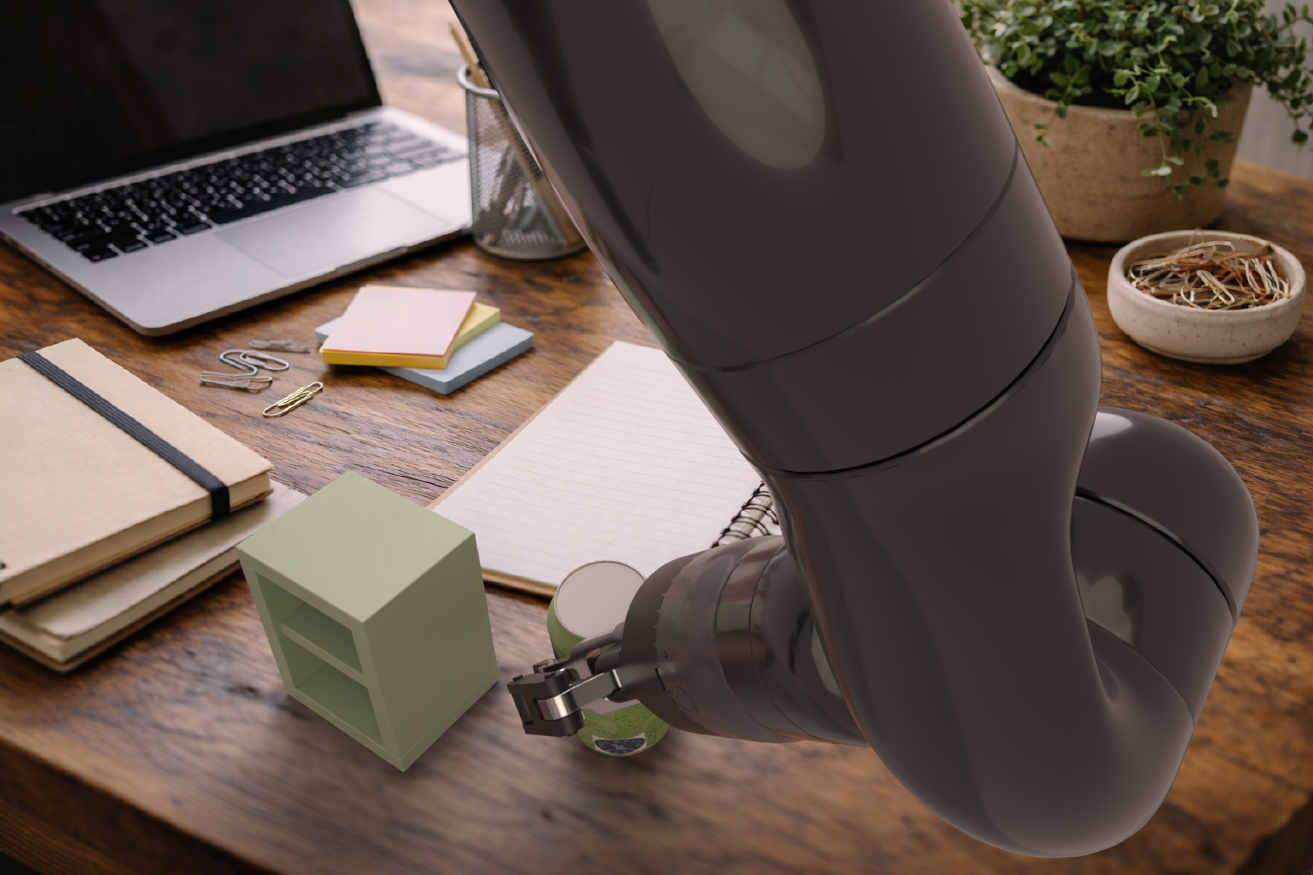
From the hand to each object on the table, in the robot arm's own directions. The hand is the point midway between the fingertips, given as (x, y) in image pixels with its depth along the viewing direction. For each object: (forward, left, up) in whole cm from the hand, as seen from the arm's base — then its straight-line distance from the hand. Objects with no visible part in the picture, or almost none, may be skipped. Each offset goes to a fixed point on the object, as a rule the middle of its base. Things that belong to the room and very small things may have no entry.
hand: (616, 648), depth 53 cm
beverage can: (0, 0, -7) cm, 7 cm away
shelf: (-10, +10, -7) cm, 16 cm away
